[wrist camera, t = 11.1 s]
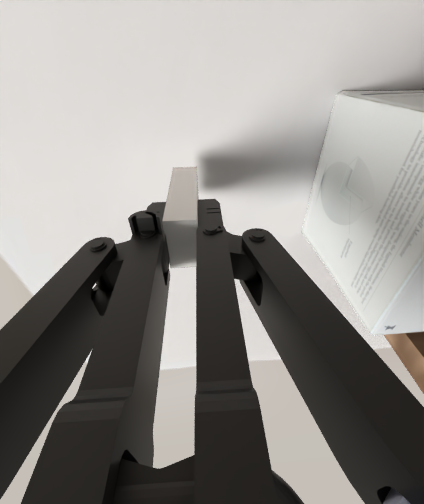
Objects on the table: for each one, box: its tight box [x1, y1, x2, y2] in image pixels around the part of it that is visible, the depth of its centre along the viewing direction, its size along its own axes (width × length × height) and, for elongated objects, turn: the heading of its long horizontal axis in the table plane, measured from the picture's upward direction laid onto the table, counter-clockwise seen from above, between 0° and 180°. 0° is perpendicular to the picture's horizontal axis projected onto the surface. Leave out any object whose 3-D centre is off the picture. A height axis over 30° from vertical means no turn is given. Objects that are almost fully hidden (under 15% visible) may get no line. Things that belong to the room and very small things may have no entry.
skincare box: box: [301, 90, 424, 336], centre depth 14 cm, size 10×6×10 cm, turn 1°
